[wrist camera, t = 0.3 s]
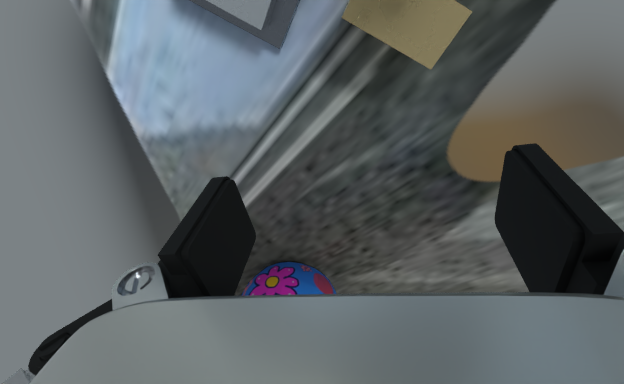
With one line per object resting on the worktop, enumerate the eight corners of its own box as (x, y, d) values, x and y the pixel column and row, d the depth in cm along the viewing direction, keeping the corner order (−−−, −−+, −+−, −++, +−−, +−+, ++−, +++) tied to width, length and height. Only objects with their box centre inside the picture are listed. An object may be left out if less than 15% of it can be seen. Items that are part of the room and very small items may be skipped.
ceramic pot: (336, 310, 64) (329, 391, 52) (252, 294, 65) (226, 370, 53) (353, 254, 53) (350, 340, 41) (252, 235, 54) (220, 314, 42)
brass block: (372, -50, 29) (374, -51, 23) (452, 1, 30) (472, 11, 25) (345, 6, 32) (341, 17, 26) (420, 50, 33) (431, 69, 28)
